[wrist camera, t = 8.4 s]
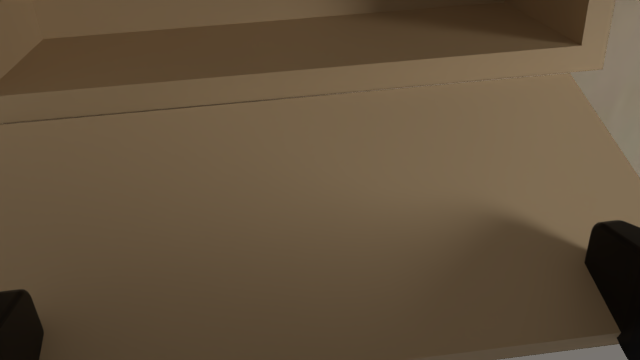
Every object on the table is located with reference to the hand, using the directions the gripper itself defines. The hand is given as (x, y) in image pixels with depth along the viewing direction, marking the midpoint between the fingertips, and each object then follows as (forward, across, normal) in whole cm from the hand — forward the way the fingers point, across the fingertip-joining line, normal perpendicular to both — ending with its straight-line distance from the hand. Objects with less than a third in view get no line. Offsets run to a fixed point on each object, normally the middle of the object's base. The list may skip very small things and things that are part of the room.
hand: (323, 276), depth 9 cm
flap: (+2, 0, 0) cm, 2 cm away
